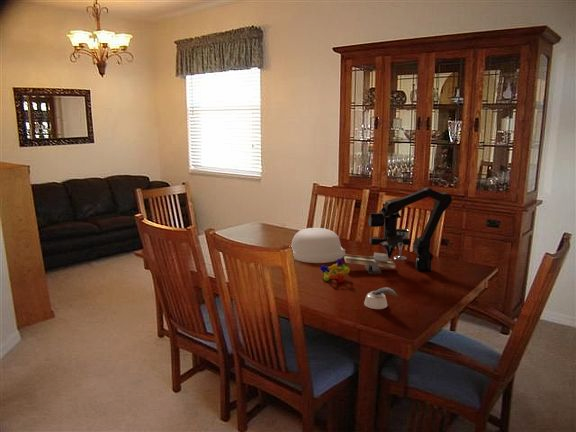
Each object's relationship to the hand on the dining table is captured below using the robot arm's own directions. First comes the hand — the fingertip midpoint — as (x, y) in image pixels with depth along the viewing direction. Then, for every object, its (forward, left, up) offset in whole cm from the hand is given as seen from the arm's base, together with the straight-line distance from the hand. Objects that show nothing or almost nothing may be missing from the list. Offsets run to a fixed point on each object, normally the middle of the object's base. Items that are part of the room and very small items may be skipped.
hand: (388, 257), depth 222 cm
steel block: (+4, 0, -2) cm, 5 cm away
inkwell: (+12, +46, -6) cm, 48 cm away
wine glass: (-10, -20, -6) cm, 23 cm away
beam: (+10, 0, -4) cm, 10 cm away
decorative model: (+28, +14, -7) cm, 32 cm away
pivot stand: (+8, 0, -6) cm, 10 cm away
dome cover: (+34, -26, -7) cm, 43 cm away
